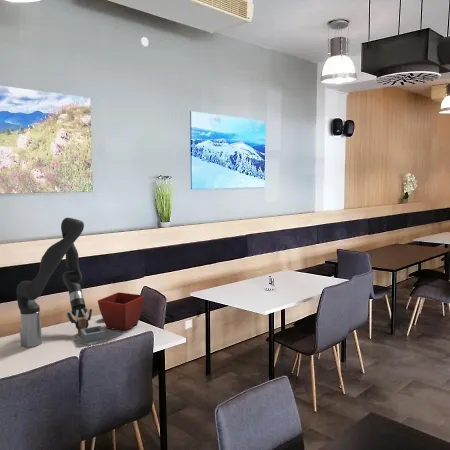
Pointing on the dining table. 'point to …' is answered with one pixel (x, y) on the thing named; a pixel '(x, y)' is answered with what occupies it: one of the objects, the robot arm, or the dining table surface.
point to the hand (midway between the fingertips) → (82, 327)
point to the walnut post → (81, 324)
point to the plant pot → (121, 310)
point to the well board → (107, 335)
